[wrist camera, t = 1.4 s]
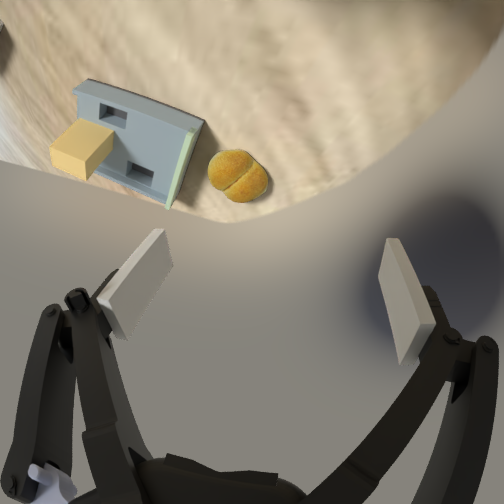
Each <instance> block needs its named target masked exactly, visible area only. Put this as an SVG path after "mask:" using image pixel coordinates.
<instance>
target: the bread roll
mask: <svg viewBox="0 0 504 504" xmlns="http://www.w3.org/2000/svg"><path fill="white" fill-rule="evenodd" d="M208 177H209V180H210V182H211V184H212V185H213V186H214V187H215V188H216V189H218V190H221V191H222V192H224V194H225V195H226V196H227V197H228V198H229V199H230V200H232V201H233V202H238V203H245V202H249V201H251V200H253V199H256V198H257V197H259V196H261V195H262V194H263V193H264V192H266V190H267V188H268V177H267V174H266V172H265V170H264V169H263V168H262V166H261V165H260V164H258V163H257V162H256V161H255V160H254V159H253V158H252V157H251V156H250V155H249V154H248V153H247V152H245V151H243V150H239V149H235V150H224V151H220V152H218V153H217V154H215V155H214V156H213V158H212V159H211V161H210V163H209V165H208Z"/></svg>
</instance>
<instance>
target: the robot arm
mask: <svg viewBox="0 0 504 504" xmlns="http://www.w3.org/2000/svg"><path fill="white" fill-rule="evenodd" d="M172 267H173V262H172V259H171V254H170V251H169V246H168V241H167V237H166V232H165V229H154V230H153V231H152V232H151V233H150V234H149V235H148V236H147V238H146V239H145V240H144V241H143V242H142V243H141V244H140V246H139V247H138V248H137V249H136V250H135V252H133V254H132V255H131V256H130V257H129V258H128V260H127V261H126V262H125V263H124V265H123V266H122V267H121V268H120V269H116V270H115V271H113V272H112V273H111V274H110V275H109V276H108V277H107V278H106V279H105V281H104V282H103V283H102V284H101V286H100V287H99V288H98V289H97V291H96V292H95V293H94V294H93V295H92V297H91V298H89V295H88V293H87V291H86V289H84V288H76V289H73V290H72V291H70V292H69V293H68V294H67V295H66V297H65V299H64V301H65V303H66V305H67V306H68V308H69V310H66V311H63V310H62V309H61V307H60V305H59V304H52V305H49V306H47V307H46V308H45V309H44V310H43V312H42V314H41V317H40V320H39V323H38V326H37V329H36V332H35V336H34V339H33V342H32V346H31V349H30V353H29V357H28V361H27V364H26V369H25V373H24V377H23V381H22V386H21V391H20V397H19V402H18V407H17V414H16V421H15V428H14V437H13V442H12V445H11V448H10V451H9V453H8V456H7V459H6V462H5V465H4V468H3V471H2V475H1V480H0V481H1V487H2V489H3V491H4V493H5V494H6V495H7V496H8V497H10V498H12V499H14V500H17V501H19V502H21V503H24V504H362V503H363V502H364V501H365V500H366V499H367V498H368V497H369V496H370V495H371V493H372V492H373V491H374V490H375V489H376V487H377V486H378V484H379V481H380V479H381V478H382V477H383V475H384V474H385V473H386V472H387V471H388V469H389V468H390V467H391V466H392V464H393V463H394V462H395V461H396V459H397V458H398V457H399V455H400V454H401V453H402V451H403V450H404V448H405V447H406V446H407V444H408V443H409V441H410V440H411V438H412V437H413V435H414V434H415V432H416V431H417V429H418V428H419V426H420V425H421V423H422V422H423V420H424V418H425V417H426V415H427V413H428V412H429V410H430V408H431V406H432V405H433V403H434V401H435V400H436V398H437V396H438V394H439V392H440V391H441V389H442V387H443V385H444V383H445V381H449V382H451V387H450V392H449V396H448V401H447V405H446V409H445V413H444V417H443V421H442V424H441V428H440V431H439V434H438V438H437V441H436V444H435V447H434V450H433V453H432V455H431V458H430V461H429V464H428V466H427V469H426V471H425V474H424V476H423V479H422V481H421V483H420V486H419V488H418V490H417V493H416V495H415V497H414V499H413V501H412V503H411V504H473V502H474V499H475V497H476V494H477V491H478V487H479V484H480V481H481V477H482V474H483V470H484V467H485V463H486V459H487V454H488V450H489V445H490V440H491V435H492V429H493V422H494V416H495V408H496V399H497V388H498V369H499V349H498V345H497V343H496V342H495V341H494V340H493V339H492V338H490V337H489V336H481V337H480V338H479V339H478V340H477V341H476V342H471V341H467V340H464V339H462V336H461V334H460V333H459V332H458V331H457V330H456V329H454V328H451V327H450V325H449V322H448V320H447V317H446V315H445V313H444V311H443V308H442V307H441V304H440V301H439V299H438V297H437V294H436V292H435V291H434V290H433V289H432V288H431V287H430V286H421V285H420V282H419V280H418V278H417V276H416V274H415V271H414V269H413V267H412V265H411V262H410V261H409V258H408V256H407V254H406V252H405V250H404V248H403V246H402V244H401V242H400V240H399V239H398V238H387V239H386V243H385V248H384V253H383V257H382V261H381V266H380V270H379V274H378V278H379V282H380V285H381V289H382V293H383V297H384V300H385V304H386V308H387V312H388V315H389V320H390V324H391V328H392V332H393V336H394V341H395V346H396V350H397V355H398V360H399V365H410V364H414V363H415V362H416V360H417V358H418V356H419V360H420V364H419V366H418V368H417V369H416V371H415V372H414V374H413V375H412V377H411V379H410V380H409V381H408V383H407V384H406V386H405V387H404V389H403V390H402V392H401V393H400V394H399V396H398V397H397V399H396V400H395V401H394V403H393V404H392V405H391V407H390V408H389V410H388V411H387V412H386V413H385V415H384V416H383V417H382V418H381V420H380V421H379V422H378V423H377V425H376V426H375V427H374V428H373V430H372V431H371V432H370V433H369V434H368V435H367V437H366V438H365V439H364V440H363V441H362V442H361V444H360V445H359V446H358V447H357V448H356V449H355V450H354V451H353V452H352V453H351V455H349V456H348V458H347V459H346V460H345V461H344V462H343V463H342V464H341V465H340V466H339V467H338V468H337V469H336V470H335V471H334V472H333V473H332V474H331V475H329V476H328V477H327V478H326V479H325V480H324V481H323V482H322V483H321V484H320V485H319V486H318V487H316V488H315V489H314V490H313V491H312V492H311V493H310V494H309V495H306V494H305V493H304V492H303V491H302V490H301V489H299V488H298V487H297V486H295V485H294V484H292V483H290V482H288V481H286V480H284V479H280V478H278V473H267V472H258V471H250V470H248V471H234V472H217V471H215V470H213V469H210V468H208V467H206V466H204V465H202V464H200V463H198V462H196V461H194V460H191V459H187V458H183V457H180V456H176V455H172V454H169V453H167V455H166V457H165V458H156V459H153V457H152V456H151V454H150V452H149V451H148V450H147V448H146V446H145V445H144V442H143V439H142V437H141V434H140V432H139V430H138V426H137V424H136V421H135V419H134V416H133V413H132V410H131V407H130V404H129V401H128V398H127V395H126V392H125V389H124V385H123V382H122V379H121V375H120V372H119V368H118V364H117V361H116V357H115V354H114V349H113V345H112V341H111V338H110V336H109V334H110V333H111V331H113V333H114V334H115V337H116V338H119V339H123V340H128V339H129V338H130V336H131V334H132V332H133V331H134V329H135V327H136V326H137V324H138V322H139V320H140V319H141V317H142V316H143V314H144V312H145V311H146V309H147V307H148V306H149V304H150V302H151V301H152V299H153V297H154V296H155V294H156V292H157V291H158V289H159V288H160V286H161V284H162V283H163V281H164V280H165V278H166V276H167V275H168V273H169V272H170V270H171V269H172ZM76 377H77V383H78V389H79V396H80V401H81V406H82V411H83V416H84V421H85V425H86V431H84V432H82V440H83V444H84V448H85V452H86V456H87V459H88V463H89V466H90V469H91V473H92V476H93V479H94V482H95V485H96V488H95V489H93V490H92V491H90V492H87V493H86V494H83V495H82V496H79V497H78V498H75V497H74V496H75V495H76V494H77V488H76V486H75V485H73V482H72V480H71V478H70V477H71V470H72V428H73V407H74V393H75V383H76ZM277 479H278V480H277ZM276 485H277V486H276Z"/></svg>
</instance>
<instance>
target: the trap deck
mask: <svg viewBox="0 0 504 504" xmlns="http://www.w3.org/2000/svg"><path fill="white" fill-rule="evenodd" d="M73 94H74V95H78V97H77V120H78V119H79V118H82V119H84V120H87V121H90V122H93V123H95V124H98V125H101V126H103V127H106V128H109V129H111V130H114V139H113V150H112V151H111V152H110V153H109V154H108V156H107V157H106V158H105V159H104V160H103V161H102V163H101V164H100V165H99V166H98V167H97V168H96V170H95V171H94V172H93V173H96V174H98V175H100V176H103V177H105V178H107V179H109V180H112V181H114V182H116V183H118V184H121V185H123V186H125V187H127V188H130V189H132V190H134V191H136V192H139V193H141V194H143V195H145V196H148V197H150V198H152V199H154V200H157V201H159V202H161V203H163V204H165V209H167V210H169V209H170V208H171V206H172V204H173V202H174V200H175V199H176V197H177V195H178V193H179V191H180V188H181V185H182V182H183V179H184V176H185V173H186V170H187V167H188V164H189V162H190V159H191V156H192V153H193V150H194V148H195V145H196V142H197V139H198V137H199V134H200V131H201V129H202V126H203V123H204V121H205V120H204V119H201V118H199V117H197V116H194V115H192V114H189V113H187V112H184V111H182V110H179V109H177V108H174V107H172V106H169V105H167V104H164V103H161V102H159V101H156V100H153V99H151V98H148V97H145V96H142V95H139V94H136V93H134V92H131V91H128V90H125V89H122V88H118V87H115V86H112V85H109V84H106V83H102V82H99V81H96V80H92V79H89V78H88V79H87V80H85V81H84V82H82V83H81V84H80V85H78V86H77V87H75V88H74V89H73Z"/></svg>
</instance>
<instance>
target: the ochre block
mask: <svg viewBox="0 0 504 504" xmlns="http://www.w3.org/2000/svg"><path fill="white" fill-rule="evenodd" d="M113 139H114V130H111V129H109V128H106V127H103V126H101V125H98V124H95V123H93V122H90V121H87V120H84V119H82V118H79V119H78V120H77V121H76V122H75V123H73V124H72V125H71V126H70V127H69V128H68V129H67V130H66V131H65V132H64V133H63V134H62V135H61V136H60V137H59V138H58V139H57V140H56V141H55V142H54V143H53V144H52V145H51V146H50V154H51V160H52V166H54V167H56V168H58V169H61V170H63V171H65V172H67V173H69V174H72V175H74V176H76V177H78V178H80V179H83V180H85V181H87V180H88V178H89V177H90V176H91V175H92V173H93V172H94V171H95V170H96V168H97V167H98V166H99V165H100V164H101V163H102V161H103V160H104V159H105V158H106V157H107V156H108V154H109V153H110V152H111V151H112V150H113Z"/></svg>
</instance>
